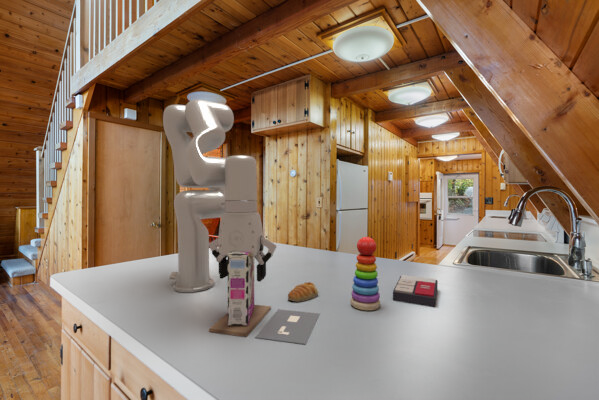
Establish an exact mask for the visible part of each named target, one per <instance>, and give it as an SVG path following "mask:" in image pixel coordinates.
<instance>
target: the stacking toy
mask: <svg viewBox="0 0 599 400" xmlns="http://www.w3.org/2000/svg"><path fill="white" fill-rule="evenodd" d="M356 248H357V252H359V254H357V256H356V260H357V262H356V263H355V267H356V269H355V270H354V277H353V279H352V282H353V284H352V287H351V289H352V291H351V298H350V301H349V302H350V304H351V306H353V308H355V309H358V310H361V311H367V312H368V311H375V310H377V309H379V308H380V306H381V300H380V296H381V295H380V293H379V291H380V289H379V287H380V286H379V285H378V284H379V279H378V278H377V277H378V271H377V269H378V265H377V263H376V262H377V261H376V260H377V257H376V256H375V255H374V253H375V252H376V250H377V243H376V241H375V240H374V239H373V238H372V237H370V236H365V237H361V238H360V239H358V241H357V244H356Z"/></svg>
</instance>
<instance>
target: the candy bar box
mask: <svg viewBox="0 0 599 400" xmlns="http://www.w3.org/2000/svg"><path fill="white" fill-rule="evenodd" d="M227 260H228V276H227V313H228V326H248V324H249V321H250V318H251V315H252V312H253V309H254V305H255V257H250V254H249V253H247V252H230V253H229V254H228V257H227Z"/></svg>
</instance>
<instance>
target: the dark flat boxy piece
mask: <svg viewBox="0 0 599 400" xmlns="http://www.w3.org/2000/svg"><path fill="white" fill-rule="evenodd" d="M438 284H439V283H438V279H435V278H430V277H421V276H415V275H412V276H411V275H405V274H402V275H400V276H399V279H398V280H397V282H396V285H395V286H394V288H393V291H392V301H395V302H400V303H404V304H406V303H407V304H411V305H418V306H419V305H420V306H423V307H424V306H425V307H430V308H436V305H437V296H438Z"/></svg>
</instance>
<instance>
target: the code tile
mask: <svg viewBox="0 0 599 400" xmlns="http://www.w3.org/2000/svg"><path fill="white" fill-rule="evenodd" d="M319 316H320V313H319V312H307V311H297V310H290V309H279V308H277V310H276V312H275V313H274V314H273V315H272V316H271V317H270V318H269V320H268V321H267V322H266V324H265V325H264V326H263V327H262V328H261V329H260V331H259V332H258V333H257V334H256V335H255V337H254V338H255V339H259V340H267V341H274V342H283V343H290V344H297V345H306V344H307V342H308V340H309V338H310V336H311V334H312V332H313V329H314V327H315V325H316V322H317V321H318V320H319V319H318V318H319Z"/></svg>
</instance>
